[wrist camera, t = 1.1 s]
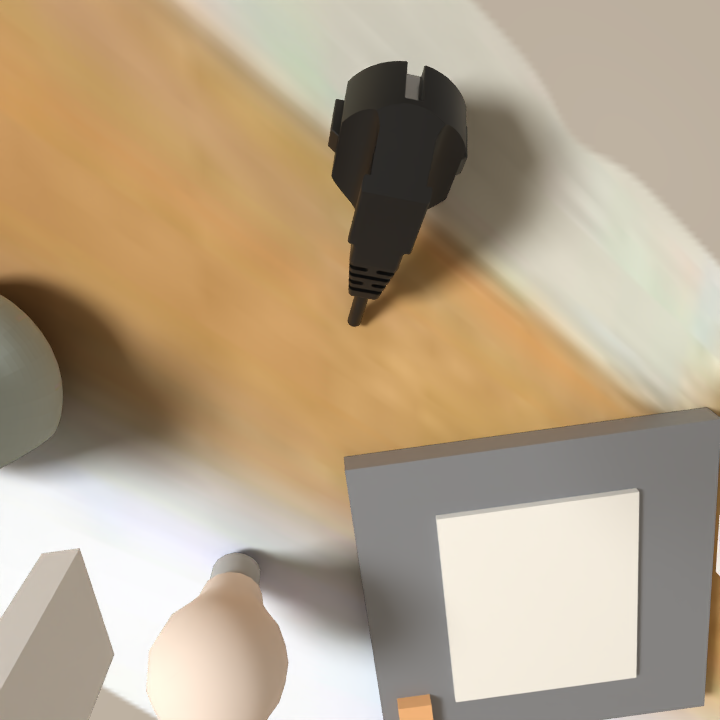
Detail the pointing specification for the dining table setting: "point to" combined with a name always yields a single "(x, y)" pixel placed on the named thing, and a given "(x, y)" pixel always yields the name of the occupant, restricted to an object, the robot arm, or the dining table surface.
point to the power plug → (393, 165)
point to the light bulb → (219, 651)
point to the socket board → (541, 570)
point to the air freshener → (26, 385)
